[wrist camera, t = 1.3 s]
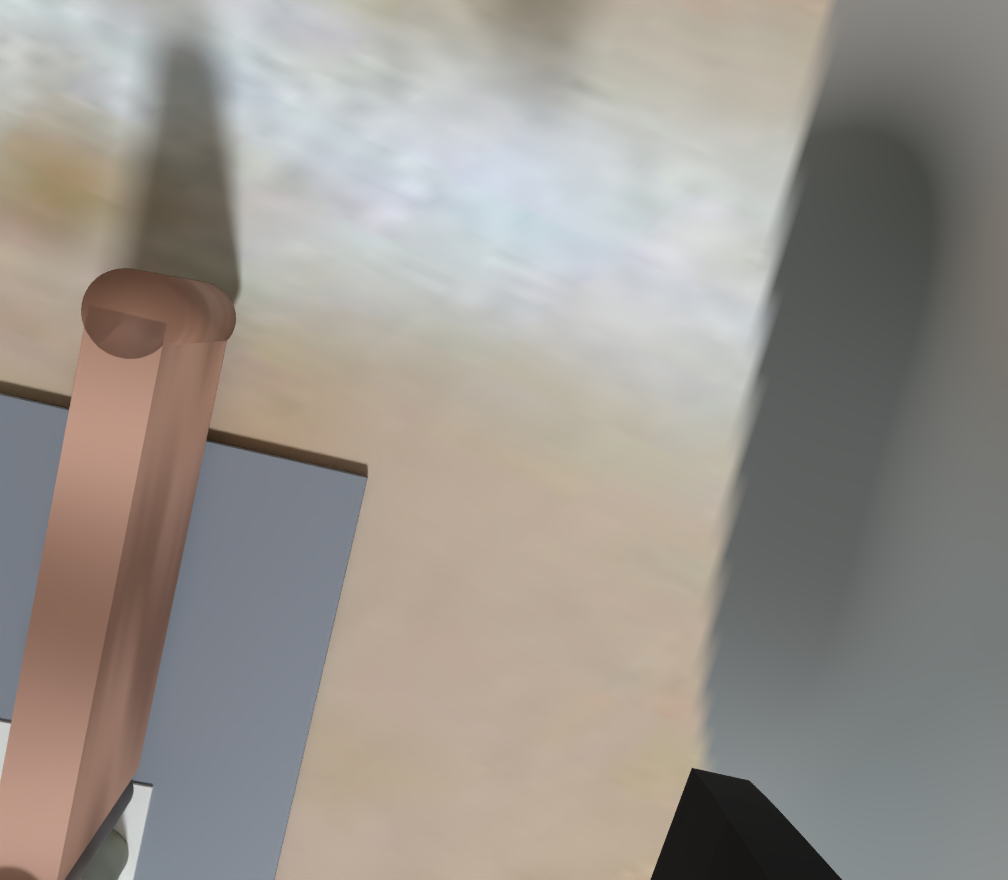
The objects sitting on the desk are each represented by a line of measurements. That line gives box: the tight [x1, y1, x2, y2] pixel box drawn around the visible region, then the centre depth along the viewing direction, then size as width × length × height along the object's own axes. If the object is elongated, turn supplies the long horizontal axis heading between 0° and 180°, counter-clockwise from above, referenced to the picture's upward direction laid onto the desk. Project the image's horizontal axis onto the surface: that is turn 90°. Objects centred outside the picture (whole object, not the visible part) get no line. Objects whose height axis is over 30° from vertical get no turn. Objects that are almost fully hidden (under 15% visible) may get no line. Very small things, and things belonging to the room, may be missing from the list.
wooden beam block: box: [0, 268, 236, 880], centre depth 15 cm, size 12×1×4 cm, turn 166°
